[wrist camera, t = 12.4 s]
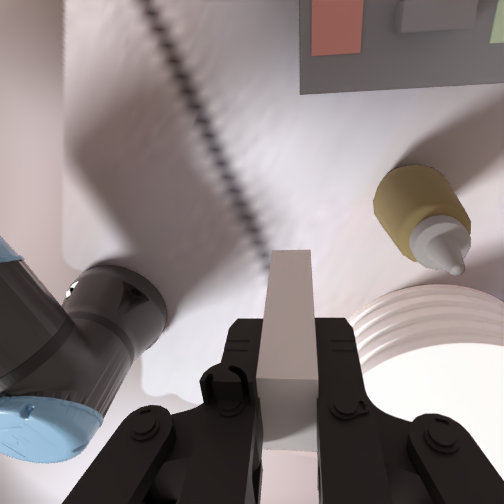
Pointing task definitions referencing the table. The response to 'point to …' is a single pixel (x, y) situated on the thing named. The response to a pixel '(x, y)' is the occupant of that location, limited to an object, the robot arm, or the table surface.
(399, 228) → the squeeze bottle
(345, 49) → the switch block
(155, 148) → the table surface
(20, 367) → the robot arm
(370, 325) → the plate stack
